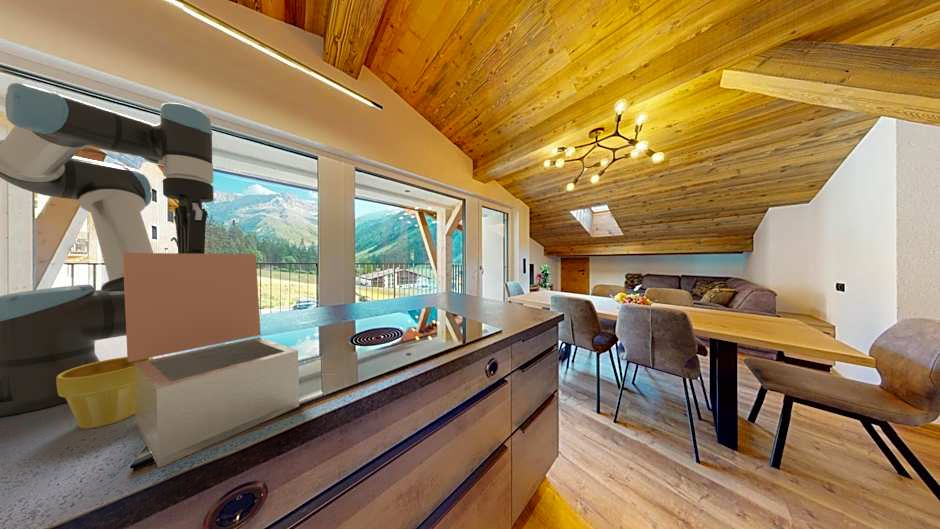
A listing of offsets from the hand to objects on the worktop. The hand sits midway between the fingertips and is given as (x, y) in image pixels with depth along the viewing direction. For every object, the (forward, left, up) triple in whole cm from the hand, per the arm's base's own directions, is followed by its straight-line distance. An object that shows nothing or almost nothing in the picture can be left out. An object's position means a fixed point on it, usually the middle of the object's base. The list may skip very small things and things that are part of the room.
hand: (192, 289), depth 58 cm
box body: (+17, 0, -23) cm, 28 cm away
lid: (+7, 0, -2) cm, 7 cm away
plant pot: (0, -11, -23) cm, 25 cm away
